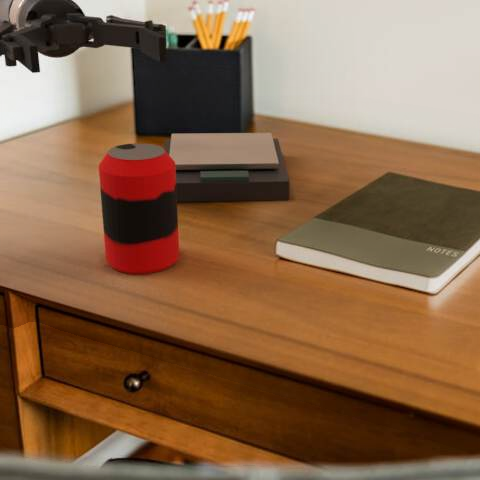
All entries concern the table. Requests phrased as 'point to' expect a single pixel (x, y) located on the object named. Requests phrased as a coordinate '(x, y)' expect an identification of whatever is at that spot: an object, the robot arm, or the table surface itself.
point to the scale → (232, 183)
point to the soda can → (139, 208)
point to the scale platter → (223, 151)
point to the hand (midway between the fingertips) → (101, 54)
